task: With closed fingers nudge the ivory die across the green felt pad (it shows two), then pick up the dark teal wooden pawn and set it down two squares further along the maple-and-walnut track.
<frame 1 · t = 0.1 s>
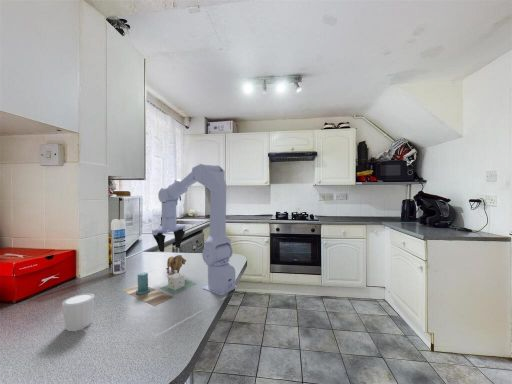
hand: (170, 249, 100), 10 cm above the countertop, fingers open, 7 cm apart
die: (176, 286, 85), resting on felt pad
felt pad: (178, 286, 86), on the countertop
track: (147, 294, 80), on the countertop
white cylinder: (79, 326, 62), on the countertop
pawn: (143, 291, 82), resting on track
lion figurine: (174, 274, 99), on the countertop
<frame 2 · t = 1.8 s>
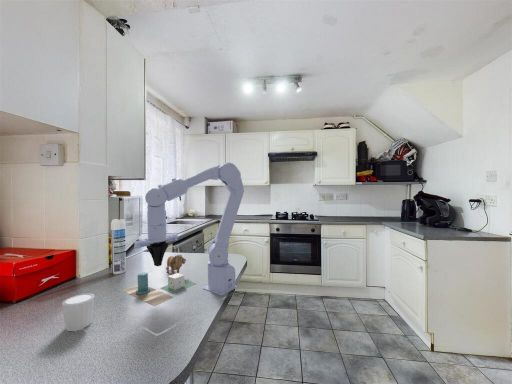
hand: (157, 265, 80), 10 cm above the countertop, fingers closed
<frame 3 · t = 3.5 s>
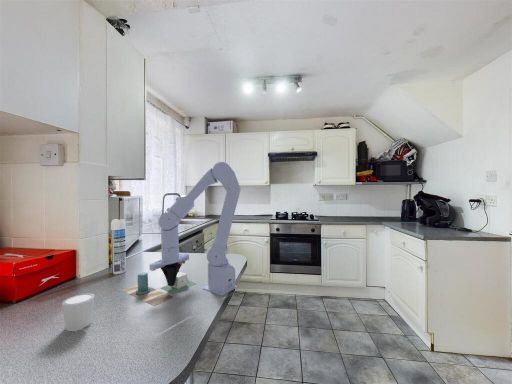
hand: (171, 285, 84), 2 cm above the countertop, fingers closed
die: (179, 285, 86), resting on felt pad, touching gripper
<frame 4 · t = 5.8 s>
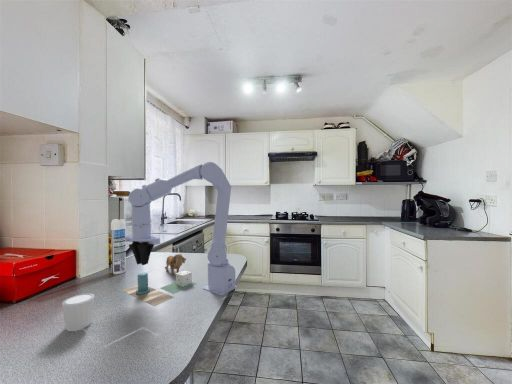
hand: (142, 263, 81), 10 cm above the countertop, fingers closed
die: (184, 283, 88), resting on felt pad
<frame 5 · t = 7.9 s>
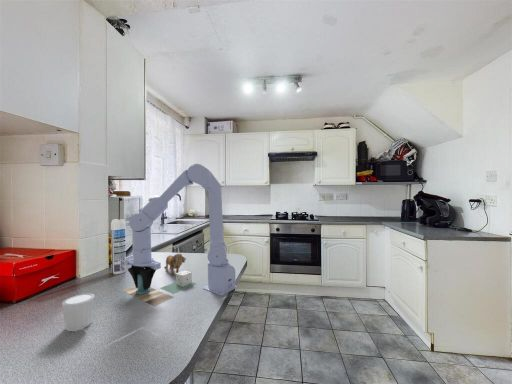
hand: (143, 287, 82), 2 cm above the countertop, fingers closed on pawn, 3 cm apart
pawn: (143, 291, 82), resting on track, touching gripper
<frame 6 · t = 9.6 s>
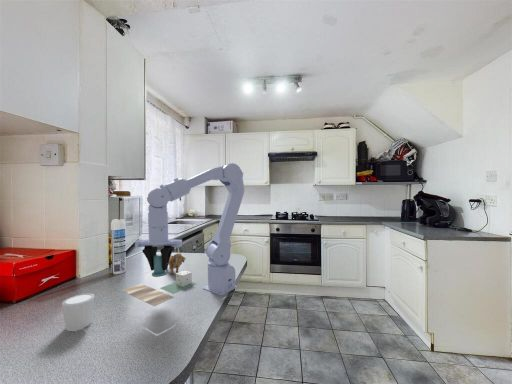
hand: (159, 269, 76), 10 cm above the countertop, fingers closed on pawn, 3 cm apart
pawn: (159, 274, 76), point 8 cm above the countertop, touching gripper
when the fingers open (3 cm above the countertop, at t = 11.6 s): pawn drops 1 cm, resting on track.
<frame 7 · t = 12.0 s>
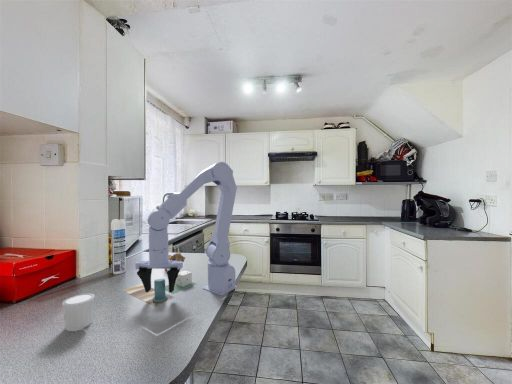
hand: (159, 291, 76), 3 cm above the countertop, fingers open, 7 cm apart
pawn: (160, 299, 76), resting on track
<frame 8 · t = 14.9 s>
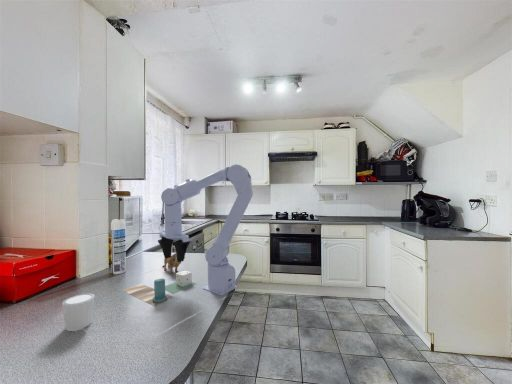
hand: (174, 259, 86), 10 cm above the countertop, fingers open, 7 cm apart
at the end: pawn inside the target area (0.0 cm from its centre), resting on track; pawn tilted 0°; die moved 3.3 cm from its start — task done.
